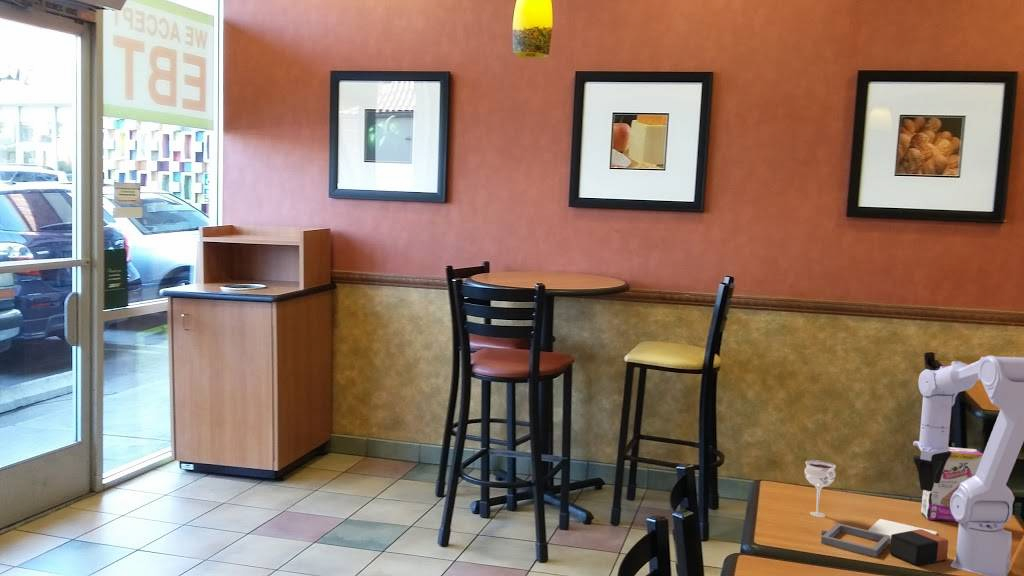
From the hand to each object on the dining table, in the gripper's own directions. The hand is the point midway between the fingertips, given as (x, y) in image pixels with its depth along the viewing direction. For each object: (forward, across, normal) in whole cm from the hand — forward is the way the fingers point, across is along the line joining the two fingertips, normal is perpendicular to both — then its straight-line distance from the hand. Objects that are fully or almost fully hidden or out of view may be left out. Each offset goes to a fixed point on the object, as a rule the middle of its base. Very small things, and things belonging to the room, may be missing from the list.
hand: (930, 486), depth 193 cm
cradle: (+10, +18, -10) cm, 23 cm away
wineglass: (+11, +6, -22) cm, 25 cm away
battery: (+8, +22, 0) cm, 23 cm away
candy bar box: (+11, -14, +2) cm, 18 cm away
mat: (+10, +5, -4) cm, 12 cm away
